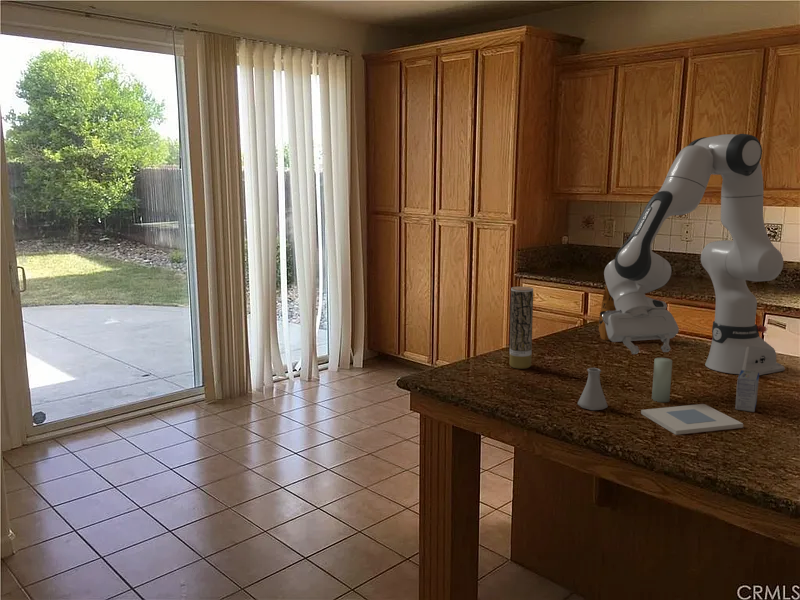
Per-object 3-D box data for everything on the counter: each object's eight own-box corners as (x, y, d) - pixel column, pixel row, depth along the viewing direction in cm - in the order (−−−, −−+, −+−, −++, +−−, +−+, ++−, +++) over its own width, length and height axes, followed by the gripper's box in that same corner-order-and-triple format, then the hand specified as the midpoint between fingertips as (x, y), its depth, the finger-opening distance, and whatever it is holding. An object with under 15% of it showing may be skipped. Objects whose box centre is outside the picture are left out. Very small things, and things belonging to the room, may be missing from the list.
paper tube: (531, 370, 201) (533, 290, 196) (508, 369, 202) (510, 290, 198) (531, 363, 208) (533, 286, 203) (509, 362, 209) (511, 286, 204)
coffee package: (597, 334, 244) (599, 276, 240) (631, 335, 242) (635, 277, 238) (600, 341, 234) (603, 281, 230) (636, 342, 232) (640, 281, 228)
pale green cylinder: (662, 396, 176) (665, 357, 174) (672, 401, 172) (675, 361, 170) (648, 397, 175) (650, 358, 173) (658, 403, 171) (660, 362, 169)
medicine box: (754, 412, 164) (757, 379, 162) (734, 409, 166) (737, 377, 164) (756, 403, 170) (759, 371, 168) (737, 400, 172) (740, 369, 171)
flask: (592, 413, 165) (593, 375, 163) (572, 404, 171) (573, 367, 169) (613, 408, 168) (615, 371, 166) (592, 399, 174) (594, 363, 172)
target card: (703, 407, 168) (703, 403, 167) (742, 427, 154) (743, 423, 154) (641, 413, 164) (641, 409, 163) (675, 434, 150) (676, 430, 150)
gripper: (604, 305, 179) (622, 348, 171) (670, 301, 183) (690, 343, 176) (595, 317, 184) (612, 360, 176) (660, 314, 188) (678, 355, 181)
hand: (651, 352), depth 176 cm, fingers open, 8 cm apart
